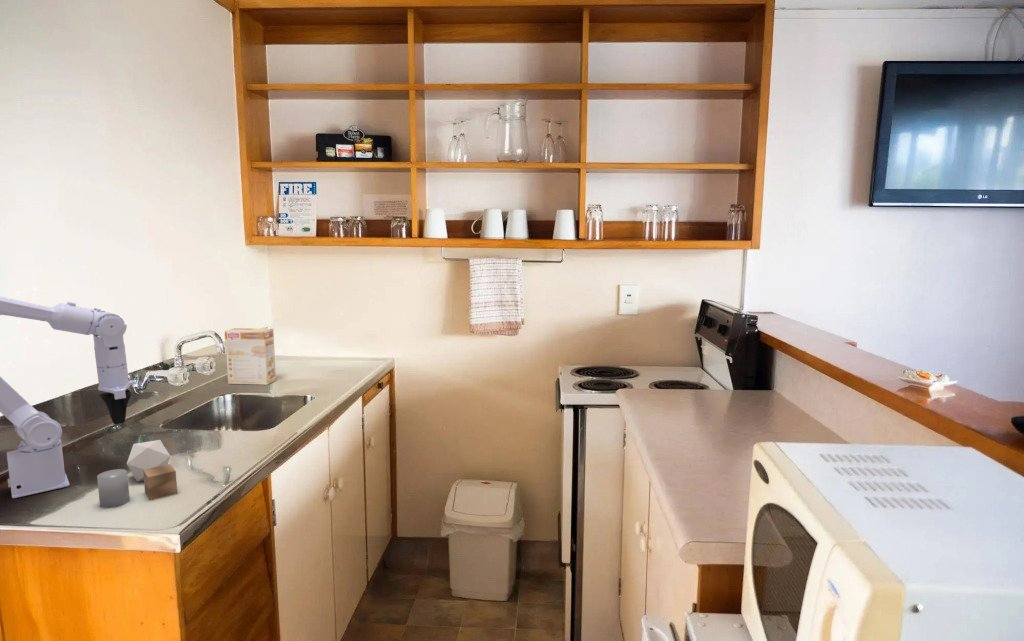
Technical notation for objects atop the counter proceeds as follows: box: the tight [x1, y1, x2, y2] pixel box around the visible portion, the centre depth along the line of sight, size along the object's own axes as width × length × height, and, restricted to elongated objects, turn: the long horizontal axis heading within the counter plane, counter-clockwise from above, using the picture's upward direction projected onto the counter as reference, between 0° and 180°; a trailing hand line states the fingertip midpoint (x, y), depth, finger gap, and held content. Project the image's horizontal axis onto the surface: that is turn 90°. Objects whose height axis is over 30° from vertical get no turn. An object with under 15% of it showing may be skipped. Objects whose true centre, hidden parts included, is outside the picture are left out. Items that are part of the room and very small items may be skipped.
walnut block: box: [143, 463, 178, 501], centre depth 125 cm, size 5×5×5 cm
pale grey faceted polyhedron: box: [126, 439, 171, 483], centre depth 133 cm, size 8×9×10 cm
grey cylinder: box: [96, 468, 131, 509], centre depth 121 cm, size 5×5×6 cm
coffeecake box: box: [224, 327, 277, 386], centre depth 217 cm, size 15×7×20 cm, turn 84°
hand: (118, 422), depth 138 cm, fingers closed
